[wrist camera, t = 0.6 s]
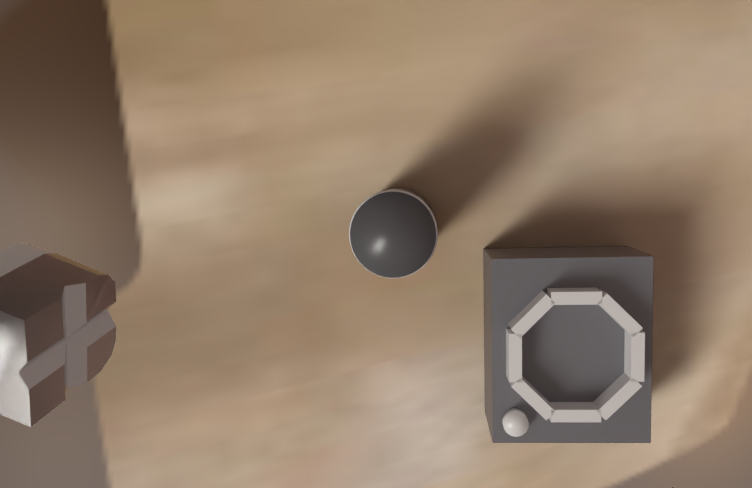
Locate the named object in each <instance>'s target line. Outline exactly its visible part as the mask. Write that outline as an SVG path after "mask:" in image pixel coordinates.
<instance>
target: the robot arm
mask: <svg viewBox="0 0 752 488" xmlns="http://www.w3.org/2000/svg"><path fill="white" fill-rule="evenodd" d="M115 302H116V284H115V281H114V280H113V279H112V278H111V277H110V276H109V275H108V274H105V273H103V272H100V271H98V270H95V269H92V268H90V267H88V266H85V265H83V264H80V263H78V262H75V261H73V260H71V259H68V258H66V257H63V256H60V255H58V254H53V253H52V252H50V251H47V250H45V249H42V248H39V247H37V246H34V245H32V244H26V243H17V244H15V245H13V246H11V247H9V248H7V249H5V250H3V251H1V252H0V414H1V415H3V416H6V417H8V418H10V419H13V420H15V421H18V422H20V423H23V424H25V425H28V426H30V427H32V426H33V425H34V424H35V423H37V422H38V421H39V420H40V419H42V418H43V417H44V416H46V415H47V414H48V413H49V412H51V411H52V410H53V409H54V408H56V407H57V406H58V405H60V404H61V403H62V402H63V401H65V398H66V393H67V388H68V387H72V386H76V385H80V384H84V383H87V382H88V381H90V380H91V379H92V378H93V377H94V376H96V375H97V374H98V373H99V372H100V371H101V370H102V369H103V367H104V365H105V364H106V362H107V361H108V359H109V358H110V356H111V355H112V351H113V347H114V344H115V340H116V325H115V323H114V321H113V320H112V318H111V316H110V314H109V312H108V309H109V308H110V307H111V306H112V305H113V304H114V303H115ZM672 488H673V487H672Z"/></svg>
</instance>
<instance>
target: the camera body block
mask: <svg viewBox="0 0 752 488" xmlns="http://www.w3.org/2000/svg"><path fill="white" fill-rule="evenodd" d="M483 261H484V366H485V414H486V418H487V422H488V426H489V430H490V434H491V438H492V442H493V443H651V383H652V318H653V256H651V255H648V254H646V253H643V252H640V251H638V250H635V249H633V248H630V247H627V246H604V247H546V248H488V249H483Z"/></svg>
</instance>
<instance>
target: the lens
mask: <svg viewBox="0 0 752 488" xmlns="http://www.w3.org/2000/svg"><path fill="white" fill-rule="evenodd" d="M437 238H438V231H437V224H436V220H435V217H434V215H433V213H432V210H431V208H430V206H429V204H428V202H427V201H426V200H425V199H424V198H423V197H422V196H421V195H420V194H419V193H417V192H415V191H413V190H411V189H407V188H400V187H397V188H391V189H387V190H385V191H381V192H378V193H376V194H374V195H372V196H370V197H369V198H367V199H366V200H365V201H363V202H362V203H361V204H360V206H359V207H358V208H357V210H356V211H355V213H354V215H353V217H352V220H351V223H350V228H349V240H350V245H351V248H352V251H353V253H354V255H355V257H356V258H357V260H358V261H359V262H360V263H361V265H362V266H363V267H365V268H366V269H367V270H369V271H370V272H372V273H374V274H376V275H378V276H381V277H386V278H401V277H406V276H409V275H411V274H413V273H415V272H417V271H418V270H420V269H421V268H422V267H424V266H425V265H426V263H427V262H428V261H429V260H430V258H431V257H432V255H433V253H434V251H435V248H436V244H437Z"/></svg>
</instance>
